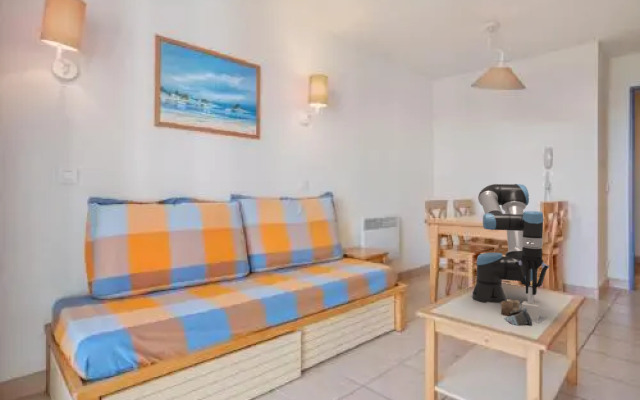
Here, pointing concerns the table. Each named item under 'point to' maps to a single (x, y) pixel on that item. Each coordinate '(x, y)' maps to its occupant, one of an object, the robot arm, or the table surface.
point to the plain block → (532, 309)
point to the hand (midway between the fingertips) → (530, 301)
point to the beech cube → (514, 304)
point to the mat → (539, 319)
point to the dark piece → (519, 317)
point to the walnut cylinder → (506, 308)
